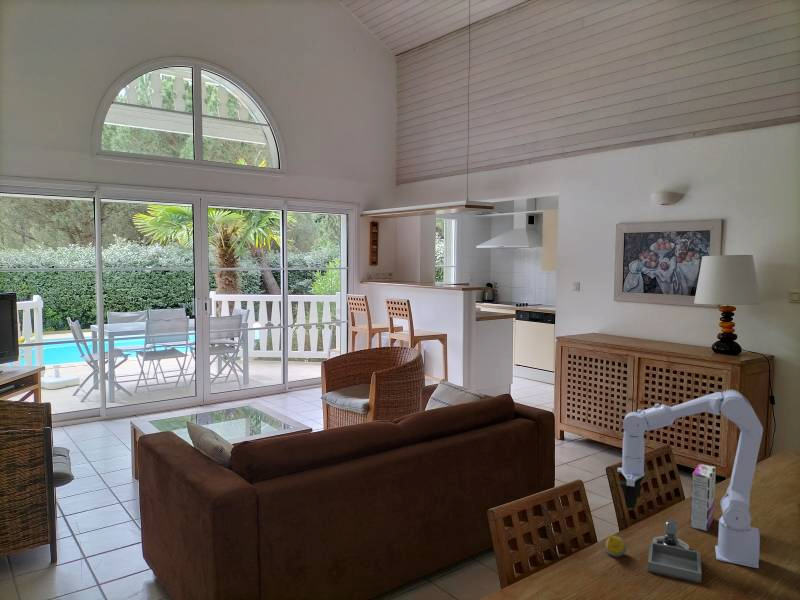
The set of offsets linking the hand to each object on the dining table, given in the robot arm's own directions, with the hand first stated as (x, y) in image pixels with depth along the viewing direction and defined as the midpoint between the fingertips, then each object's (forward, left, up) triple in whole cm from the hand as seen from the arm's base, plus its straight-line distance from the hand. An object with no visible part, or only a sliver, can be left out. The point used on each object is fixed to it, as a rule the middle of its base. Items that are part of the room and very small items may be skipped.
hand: (631, 502), depth 163 cm
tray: (-11, +12, -10) cm, 19 cm away
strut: (-10, +2, -10) cm, 15 cm away
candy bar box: (-19, -20, -10) cm, 29 cm away
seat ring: (-10, +2, -10) cm, 15 cm away
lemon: (+3, +14, -10) cm, 17 cm away
